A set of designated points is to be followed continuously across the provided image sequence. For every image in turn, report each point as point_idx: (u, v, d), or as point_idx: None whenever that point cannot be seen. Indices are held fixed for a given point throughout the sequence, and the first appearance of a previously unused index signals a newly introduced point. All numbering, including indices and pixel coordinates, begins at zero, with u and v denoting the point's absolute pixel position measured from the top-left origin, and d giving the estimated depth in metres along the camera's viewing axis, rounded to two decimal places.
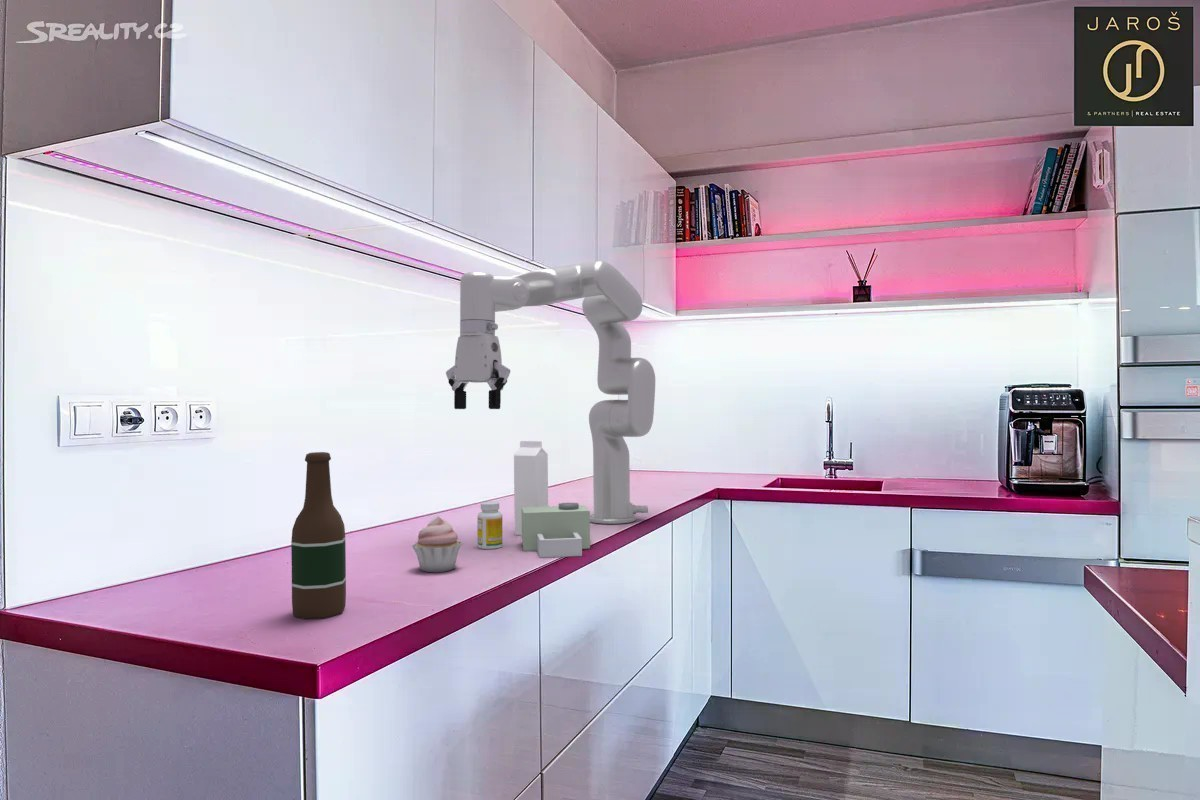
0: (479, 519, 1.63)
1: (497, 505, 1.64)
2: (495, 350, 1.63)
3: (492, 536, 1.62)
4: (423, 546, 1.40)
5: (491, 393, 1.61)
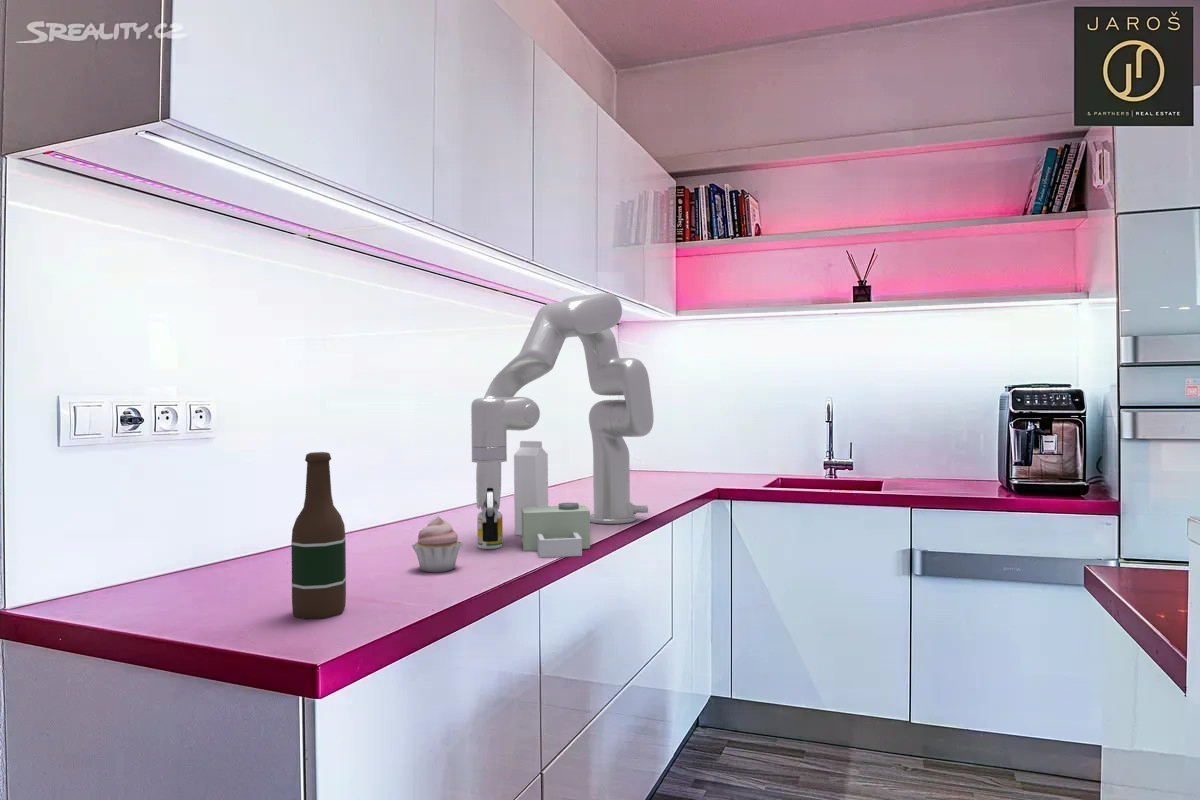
0: (479, 519, 1.63)
1: None
2: None
3: None
4: (423, 546, 1.40)
5: None
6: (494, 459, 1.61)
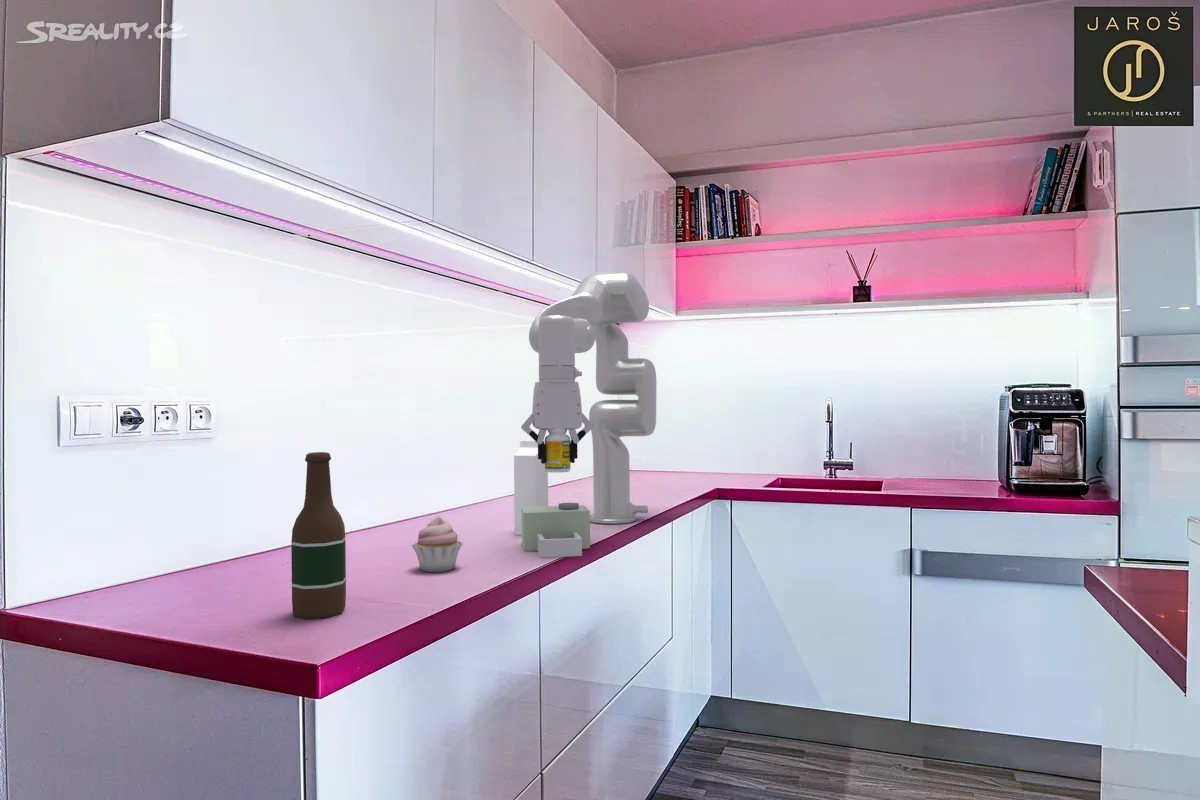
0: None
1: None
2: None
3: None
4: (423, 546, 1.40)
5: None
6: (540, 378, 1.56)
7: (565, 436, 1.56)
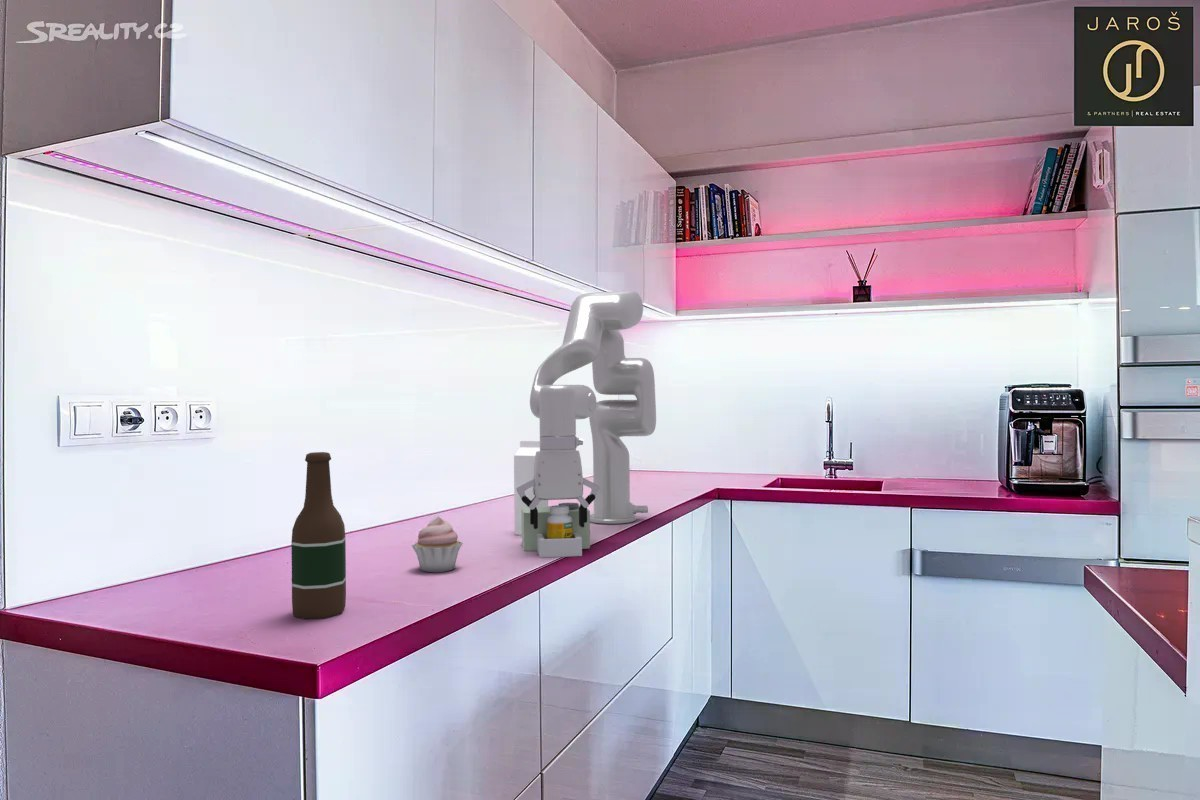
0: None
1: (554, 509, 1.56)
2: None
3: None
4: (423, 546, 1.40)
5: (583, 511, 1.57)
6: (541, 448, 1.56)
7: (567, 518, 1.56)
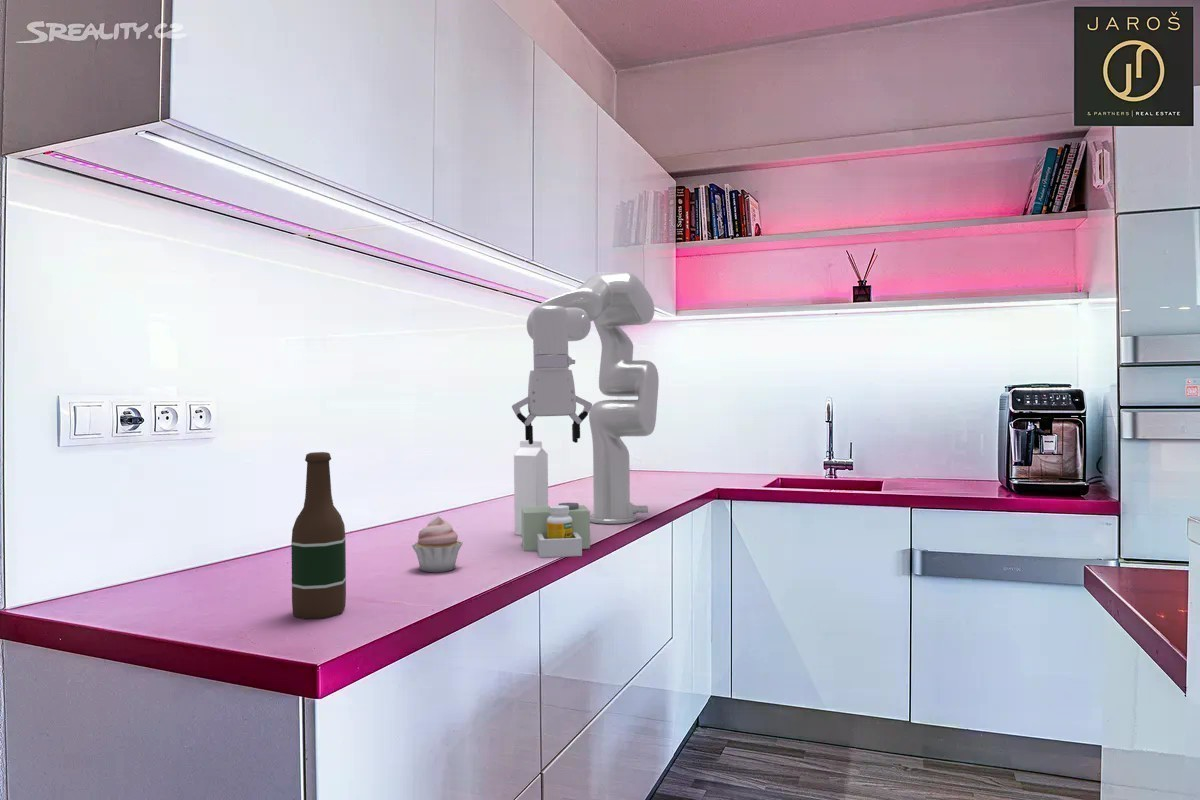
0: None
1: (554, 509, 1.56)
2: None
3: None
4: (423, 546, 1.40)
5: (577, 427, 1.64)
6: (535, 367, 1.62)
7: (567, 518, 1.56)
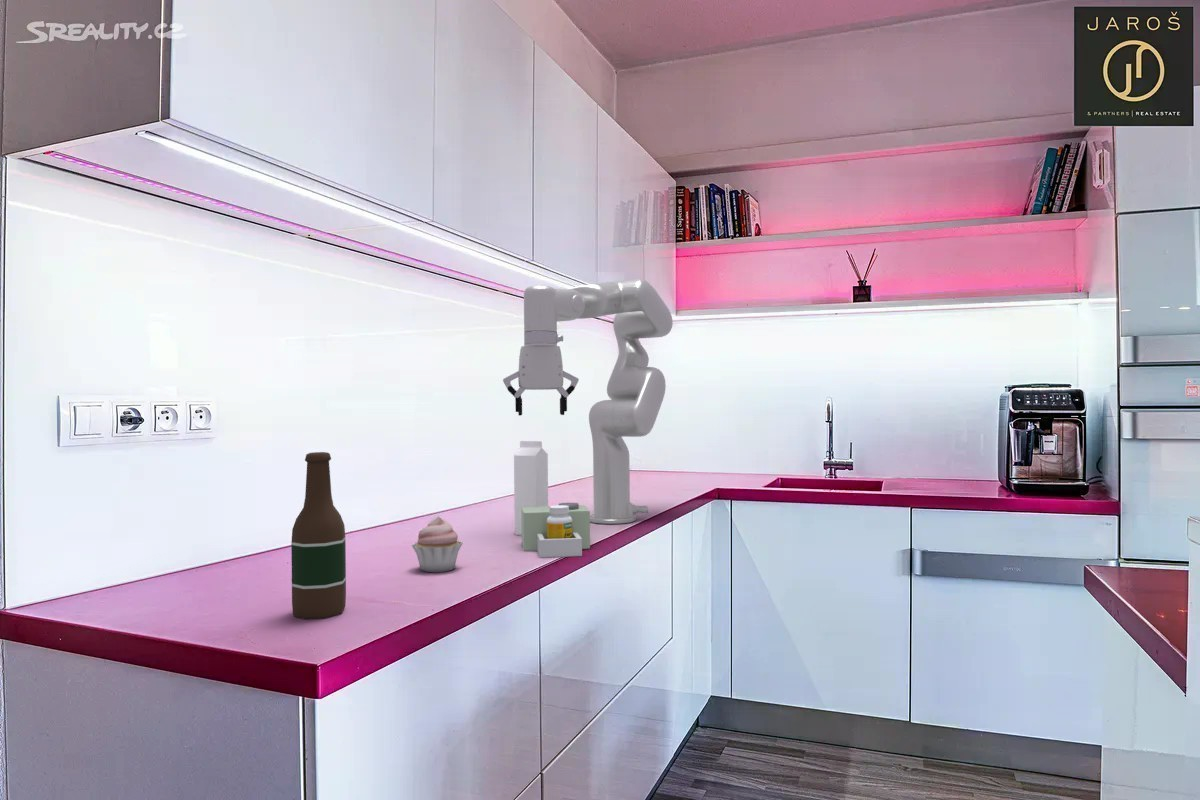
0: None
1: (554, 509, 1.56)
2: None
3: None
4: (423, 546, 1.40)
5: (564, 400, 1.74)
6: (525, 343, 1.73)
7: (567, 518, 1.56)
